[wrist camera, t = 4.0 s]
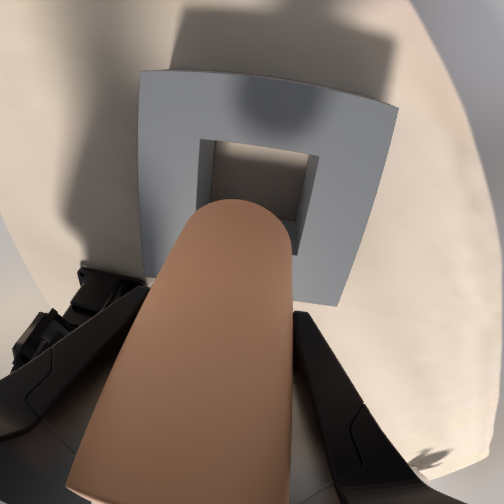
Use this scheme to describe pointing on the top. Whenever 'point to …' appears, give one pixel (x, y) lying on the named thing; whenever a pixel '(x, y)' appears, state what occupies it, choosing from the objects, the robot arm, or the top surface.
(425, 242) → the top surface
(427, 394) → the top surface
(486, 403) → the top surface
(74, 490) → the peg
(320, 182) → the socket block
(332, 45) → the top surface
